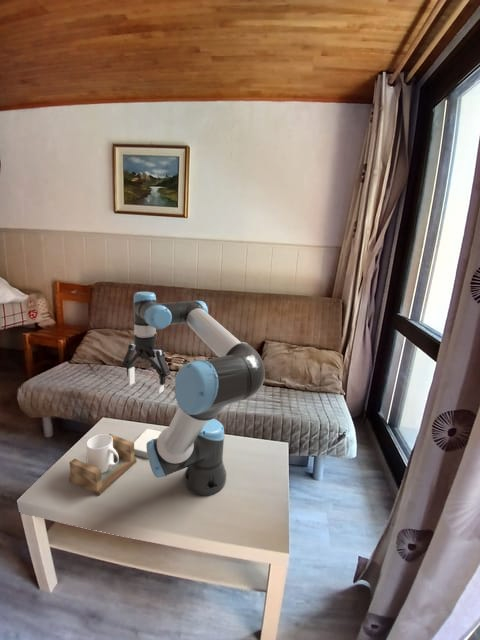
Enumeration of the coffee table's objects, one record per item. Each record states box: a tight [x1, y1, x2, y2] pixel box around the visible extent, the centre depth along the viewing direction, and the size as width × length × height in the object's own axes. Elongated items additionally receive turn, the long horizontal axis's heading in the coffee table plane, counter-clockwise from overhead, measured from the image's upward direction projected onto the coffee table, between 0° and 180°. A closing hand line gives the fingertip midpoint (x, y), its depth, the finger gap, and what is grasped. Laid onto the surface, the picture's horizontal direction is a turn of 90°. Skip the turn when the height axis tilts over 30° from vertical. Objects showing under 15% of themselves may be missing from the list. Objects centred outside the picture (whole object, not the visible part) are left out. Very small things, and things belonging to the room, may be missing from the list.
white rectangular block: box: [134, 428, 162, 459], centre depth 128 cm, size 10×14×3 cm
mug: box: [86, 433, 119, 474], centre depth 111 cm, size 9×12×11 cm
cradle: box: [68, 433, 137, 496], centre depth 112 cm, size 14×18×8 cm
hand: (145, 387), depth 117 cm, fingers open, 13 cm apart
